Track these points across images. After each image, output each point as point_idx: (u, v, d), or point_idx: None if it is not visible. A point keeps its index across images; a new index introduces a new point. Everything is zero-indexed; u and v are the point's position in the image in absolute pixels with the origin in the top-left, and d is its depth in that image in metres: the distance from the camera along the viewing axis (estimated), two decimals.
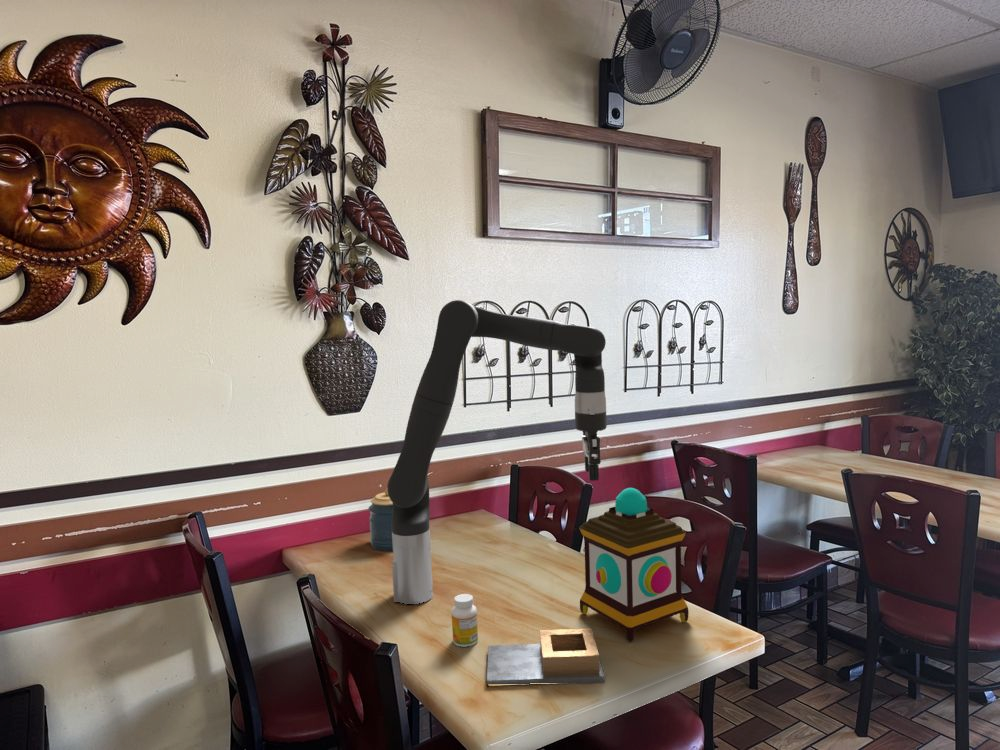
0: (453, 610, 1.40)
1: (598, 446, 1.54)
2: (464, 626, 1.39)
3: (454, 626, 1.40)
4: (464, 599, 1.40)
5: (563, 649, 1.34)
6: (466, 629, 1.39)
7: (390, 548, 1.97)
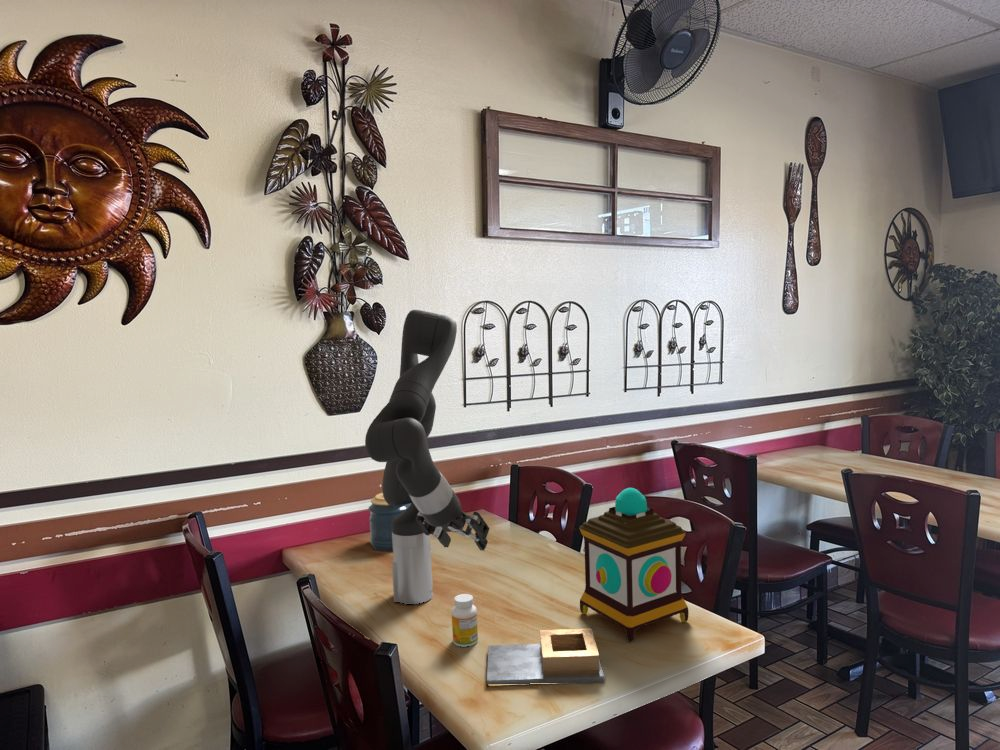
0: (453, 610, 1.40)
1: None
2: (464, 626, 1.39)
3: (454, 626, 1.40)
4: (464, 599, 1.40)
5: (563, 649, 1.34)
6: (466, 629, 1.39)
7: (390, 548, 1.97)
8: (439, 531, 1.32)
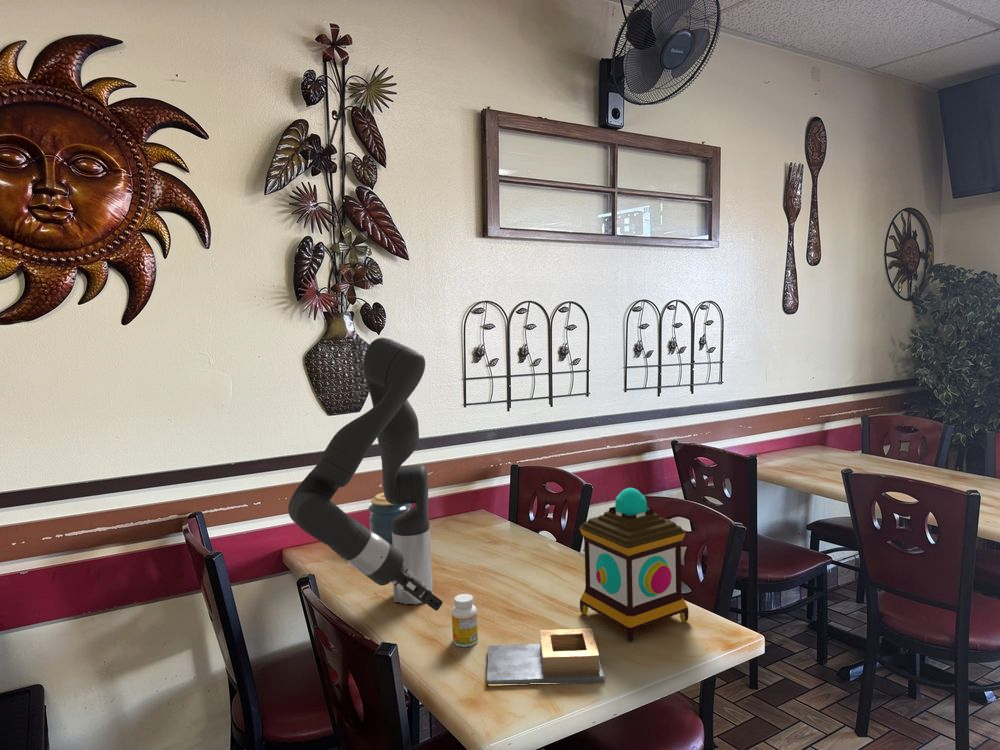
0: (453, 610, 1.40)
1: None
2: (464, 626, 1.39)
3: (454, 626, 1.40)
4: (464, 599, 1.40)
5: (563, 649, 1.34)
6: (466, 629, 1.39)
7: None
8: None
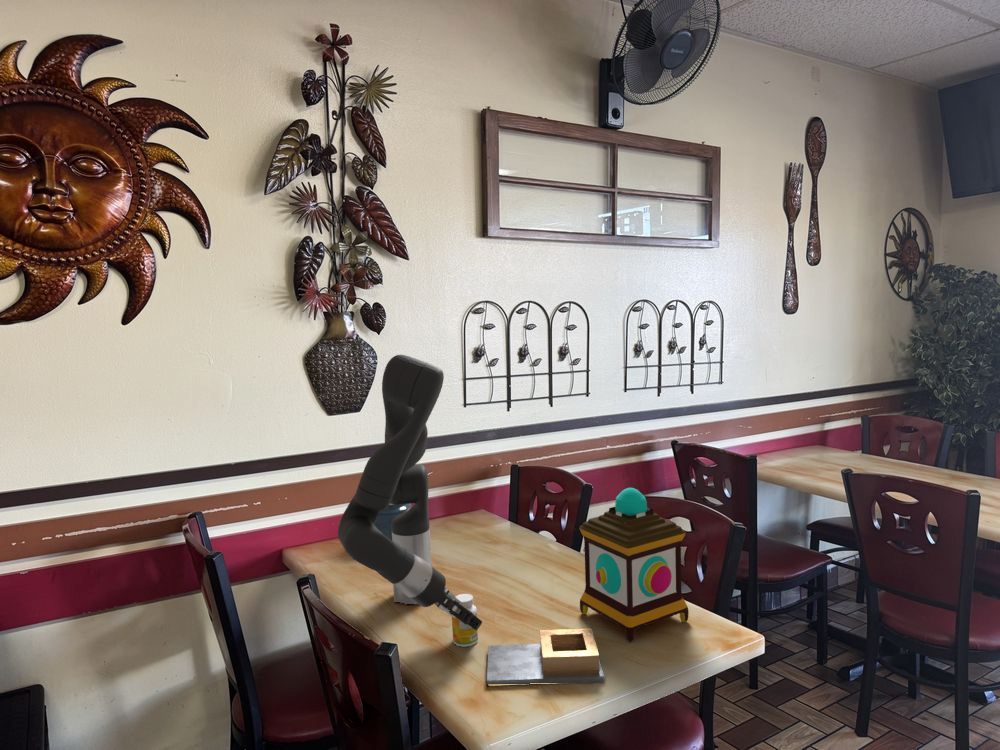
0: None
1: None
2: (464, 626, 1.39)
3: (454, 626, 1.40)
4: (464, 599, 1.40)
5: (563, 649, 1.34)
6: (466, 629, 1.39)
7: None
8: None
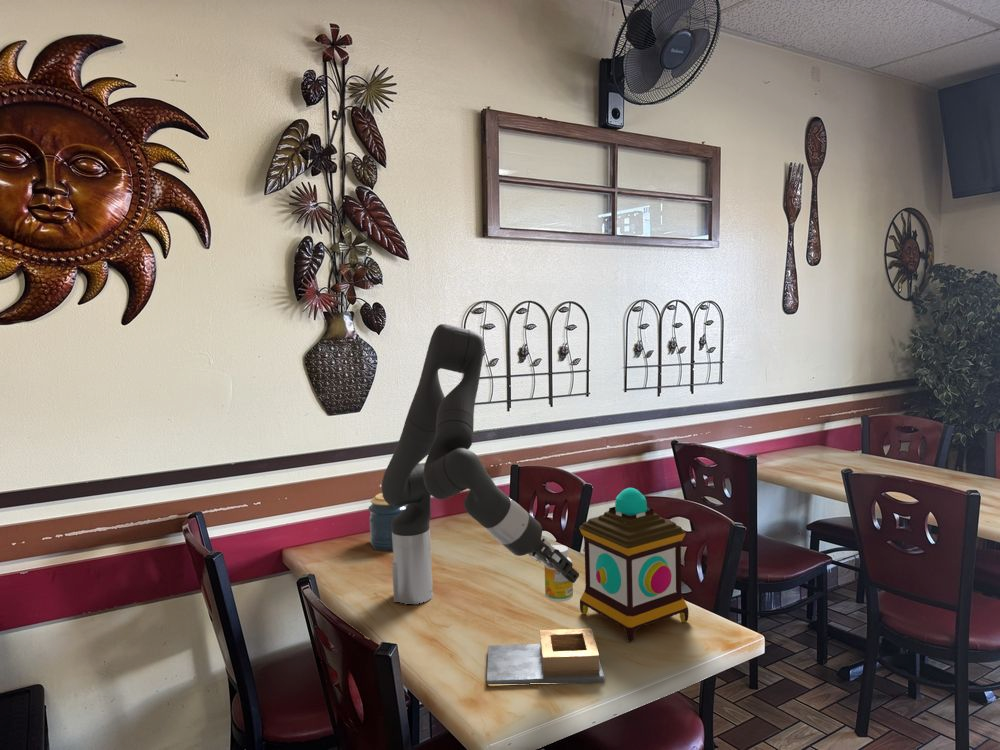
0: (547, 562, 1.28)
1: None
2: (560, 579, 1.26)
3: (548, 579, 1.28)
4: (559, 550, 1.28)
5: (563, 649, 1.34)
6: (561, 582, 1.27)
7: (390, 548, 1.97)
8: (532, 557, 1.28)
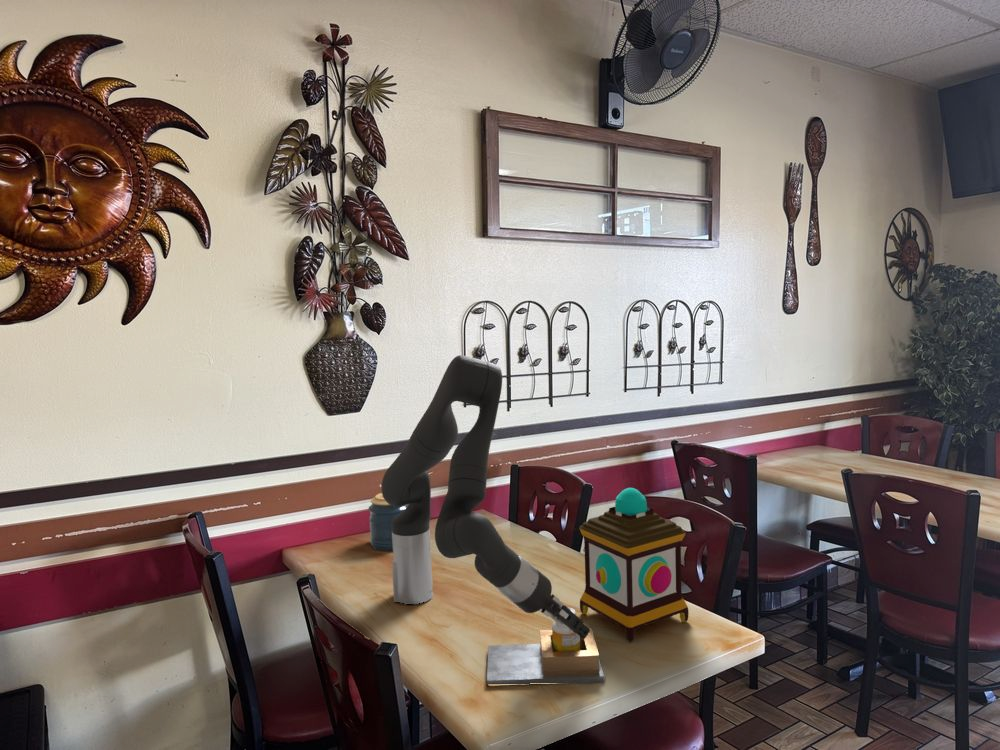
0: (554, 625, 1.29)
1: None
2: (568, 643, 1.28)
3: (556, 642, 1.29)
4: None
5: None
6: (569, 646, 1.28)
7: (390, 548, 1.97)
8: None
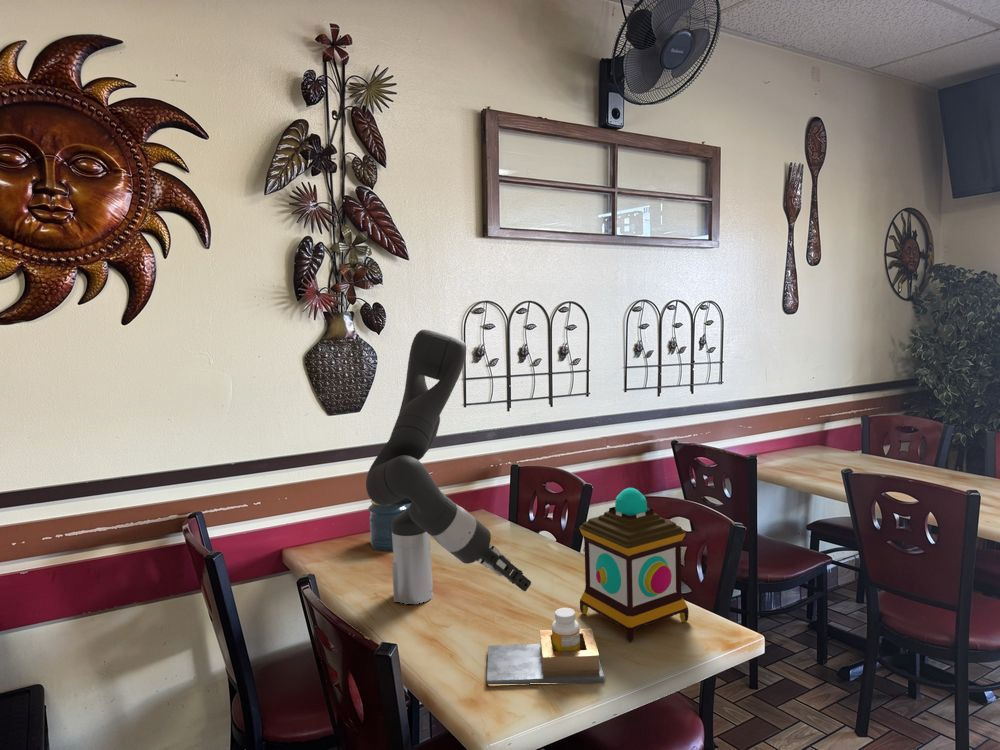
0: (554, 625, 1.29)
1: None
2: (567, 643, 1.28)
3: (555, 643, 1.29)
4: (566, 614, 1.29)
5: None
6: (569, 647, 1.28)
7: (390, 548, 1.97)
8: None
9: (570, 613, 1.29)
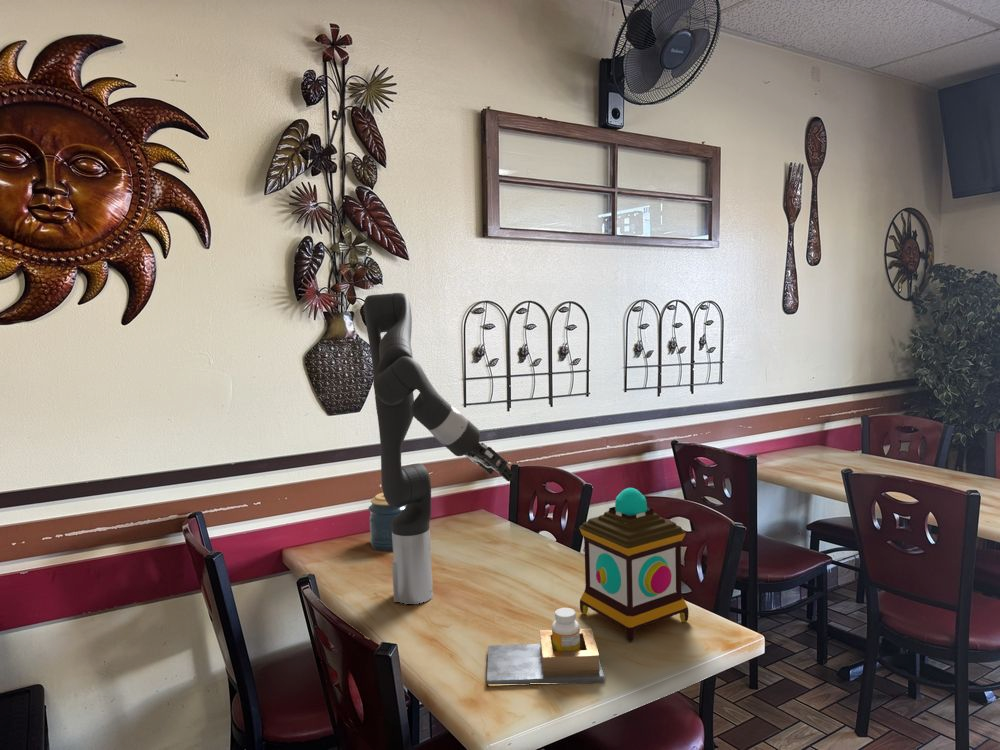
0: (554, 625, 1.29)
1: None
2: (567, 643, 1.28)
3: (555, 643, 1.29)
4: (567, 614, 1.29)
5: None
6: (569, 647, 1.28)
7: (390, 548, 1.97)
8: (471, 459, 1.47)
9: (570, 613, 1.29)
